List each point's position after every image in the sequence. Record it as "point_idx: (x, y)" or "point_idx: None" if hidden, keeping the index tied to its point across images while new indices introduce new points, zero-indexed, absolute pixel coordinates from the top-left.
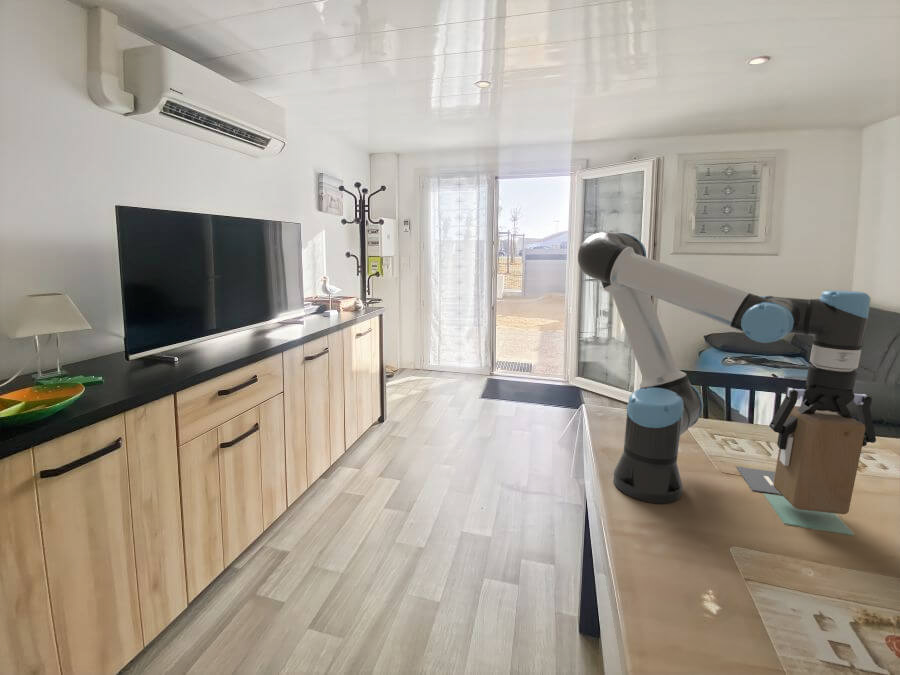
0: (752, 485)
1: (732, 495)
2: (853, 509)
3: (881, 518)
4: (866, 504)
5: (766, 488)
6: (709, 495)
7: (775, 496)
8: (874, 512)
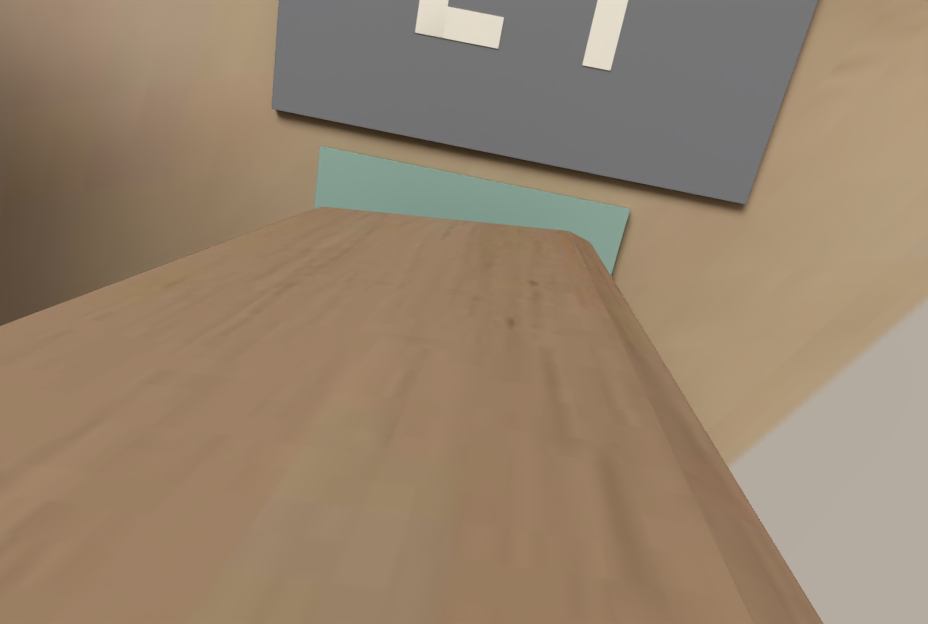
0: (295, 48)
1: (148, 181)
2: (755, 252)
3: (834, 326)
4: (898, 184)
5: (367, 78)
6: (31, 198)
7: (373, 176)
8: (855, 270)
